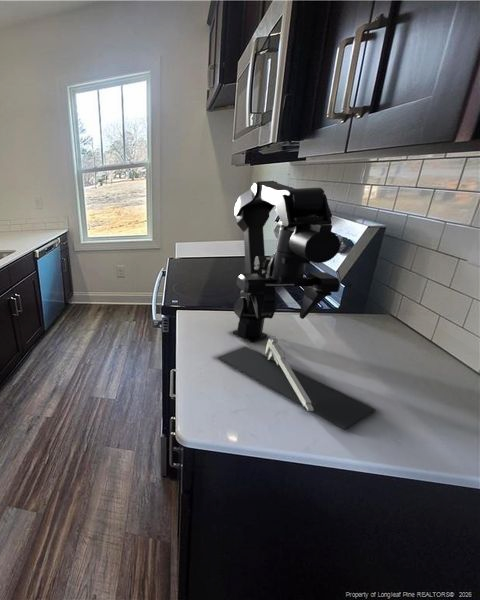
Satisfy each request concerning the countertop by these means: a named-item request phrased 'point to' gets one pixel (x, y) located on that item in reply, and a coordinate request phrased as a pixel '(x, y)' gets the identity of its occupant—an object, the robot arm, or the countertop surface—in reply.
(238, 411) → the countertop surface
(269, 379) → the mat
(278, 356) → the caliper
